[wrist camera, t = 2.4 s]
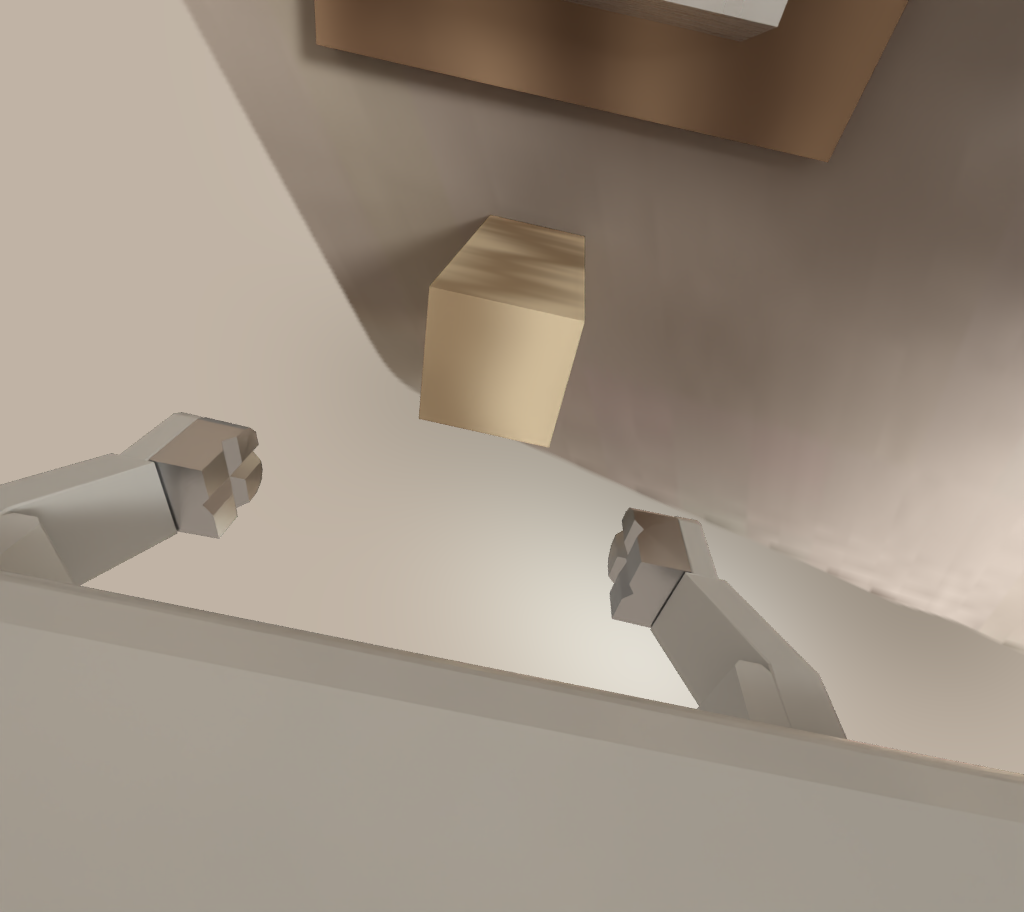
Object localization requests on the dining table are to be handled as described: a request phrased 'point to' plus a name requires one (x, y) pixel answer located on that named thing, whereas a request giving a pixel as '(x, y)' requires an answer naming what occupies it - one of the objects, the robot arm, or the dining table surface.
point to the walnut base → (641, 60)
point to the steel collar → (702, 14)
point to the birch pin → (504, 331)
